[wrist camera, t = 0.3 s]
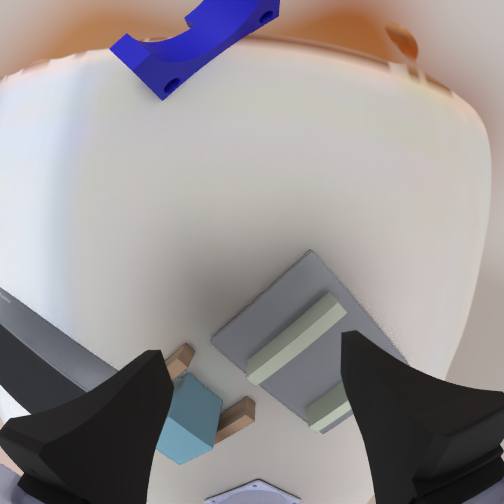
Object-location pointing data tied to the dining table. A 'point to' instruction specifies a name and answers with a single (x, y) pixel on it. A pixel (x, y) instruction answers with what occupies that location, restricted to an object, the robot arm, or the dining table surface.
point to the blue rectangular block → (190, 421)
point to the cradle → (230, 418)
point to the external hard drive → (43, 360)
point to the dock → (300, 341)
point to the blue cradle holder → (194, 42)
